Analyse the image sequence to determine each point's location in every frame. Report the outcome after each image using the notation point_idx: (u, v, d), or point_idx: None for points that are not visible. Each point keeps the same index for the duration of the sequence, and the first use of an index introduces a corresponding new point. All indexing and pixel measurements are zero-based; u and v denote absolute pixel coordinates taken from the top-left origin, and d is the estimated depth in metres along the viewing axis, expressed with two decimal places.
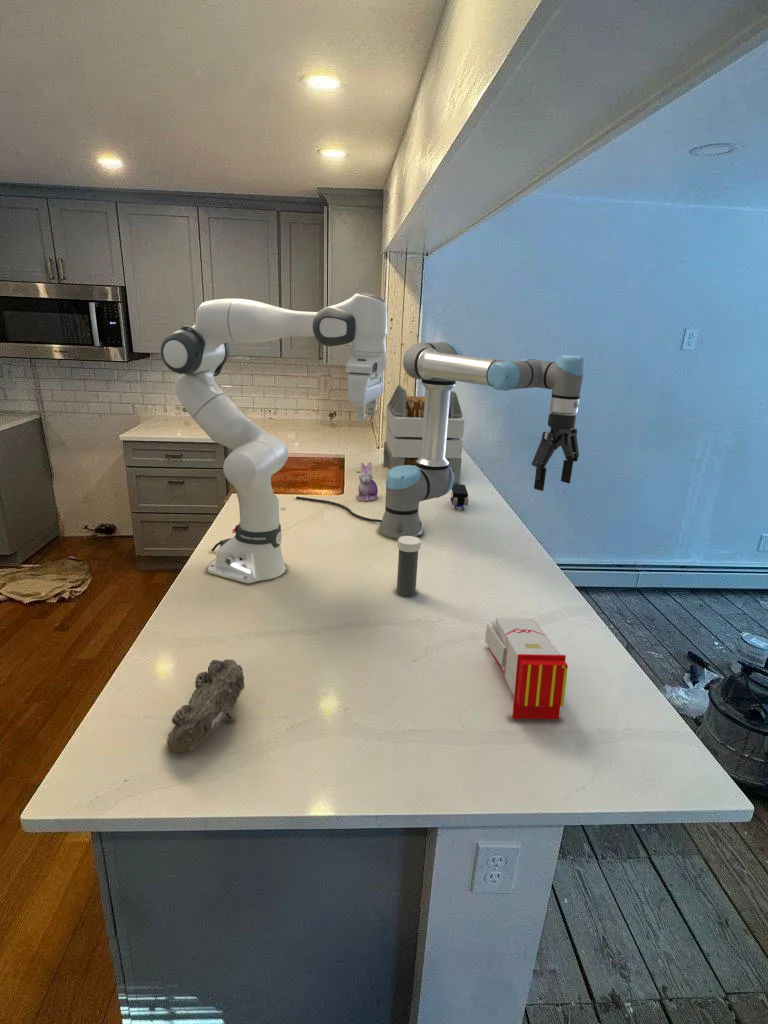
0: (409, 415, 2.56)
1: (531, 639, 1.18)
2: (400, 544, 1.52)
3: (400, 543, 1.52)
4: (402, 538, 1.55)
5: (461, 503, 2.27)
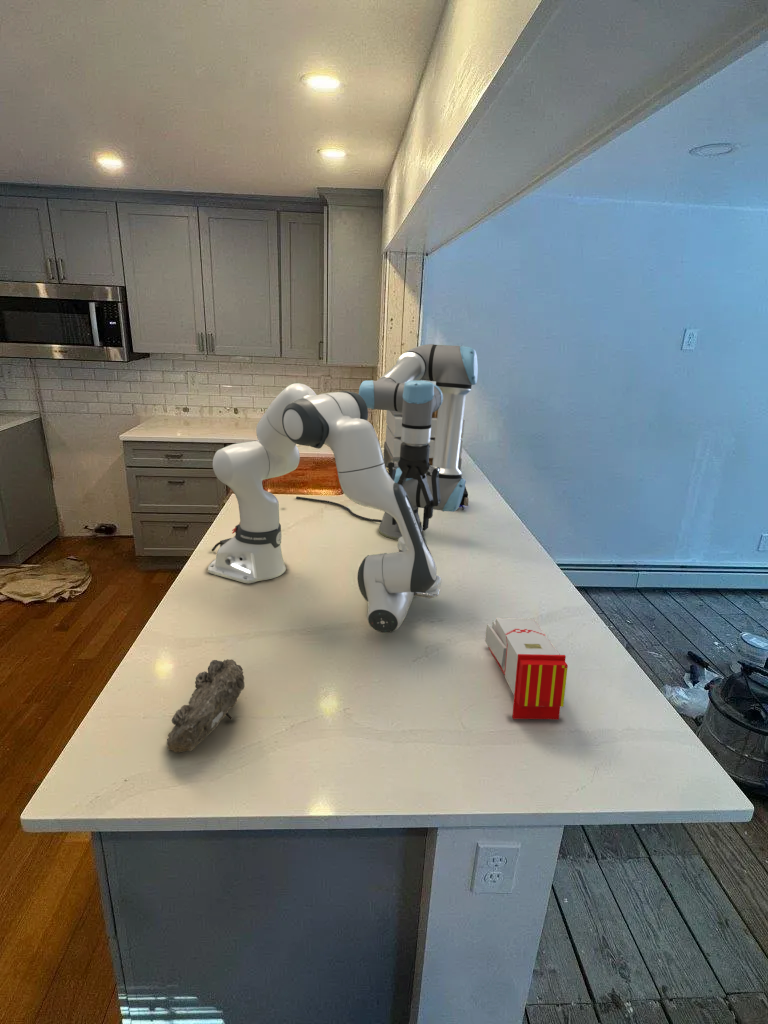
0: None
1: (531, 639, 1.18)
2: (400, 544, 1.52)
3: (400, 543, 1.52)
4: (402, 538, 1.55)
5: (461, 503, 2.27)
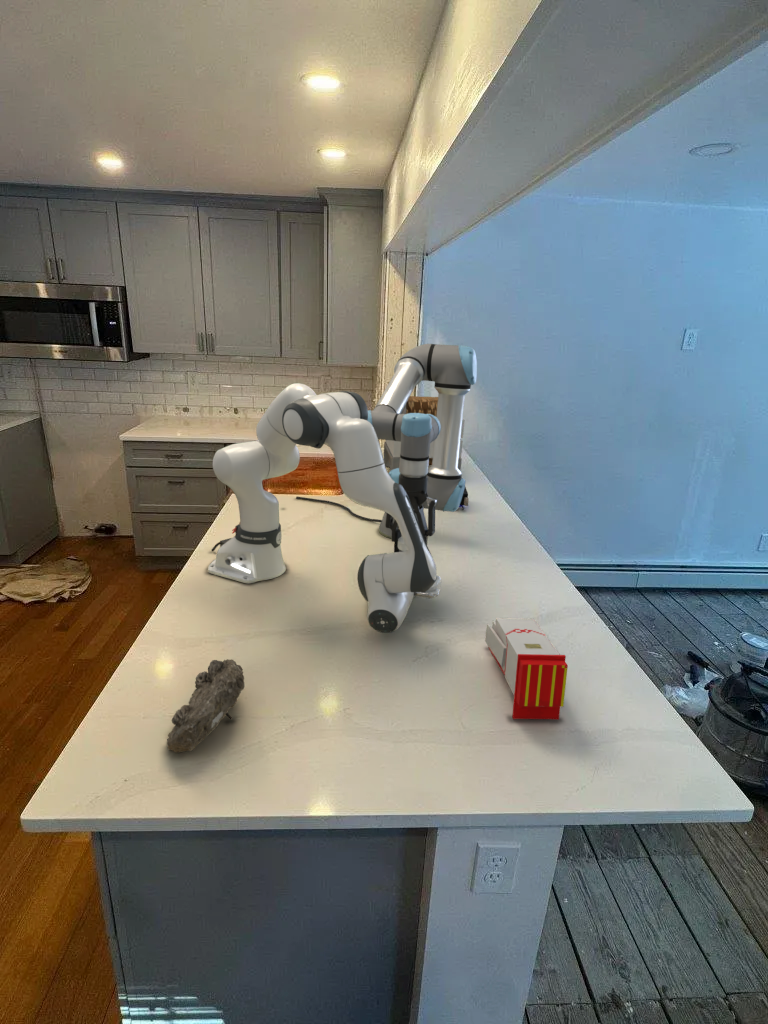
0: None
1: (531, 639, 1.18)
2: (400, 544, 1.52)
3: (400, 543, 1.52)
4: (402, 538, 1.55)
5: (461, 503, 2.27)
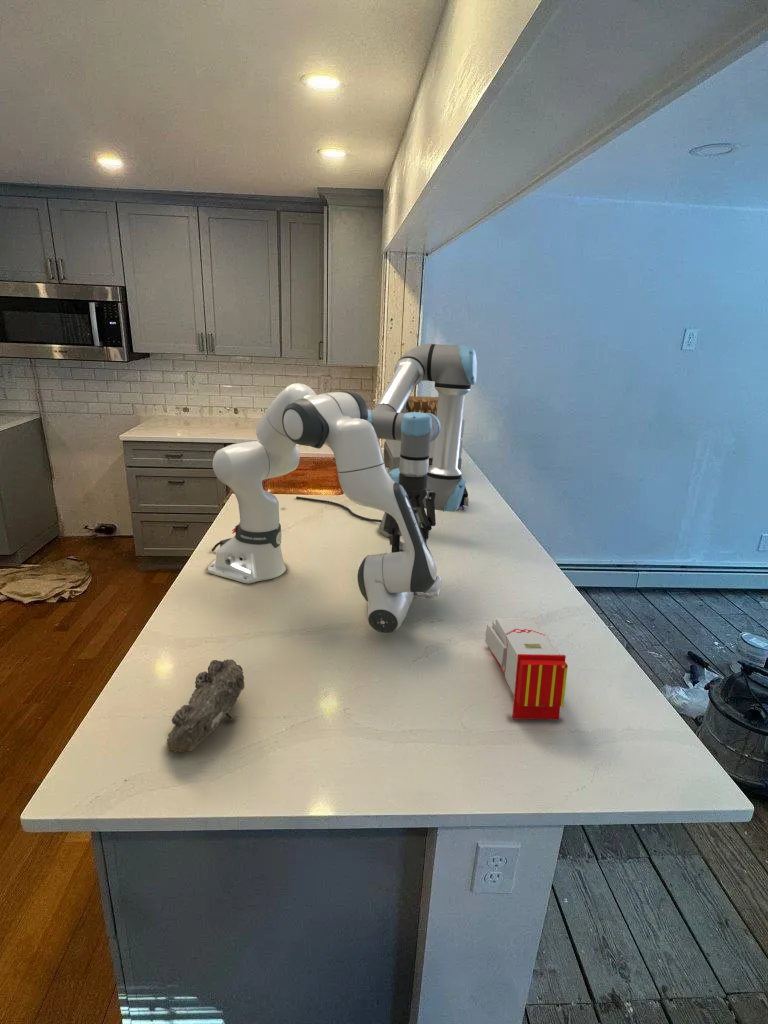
0: None
1: (531, 639, 1.18)
2: None
3: None
4: None
5: (461, 503, 2.27)
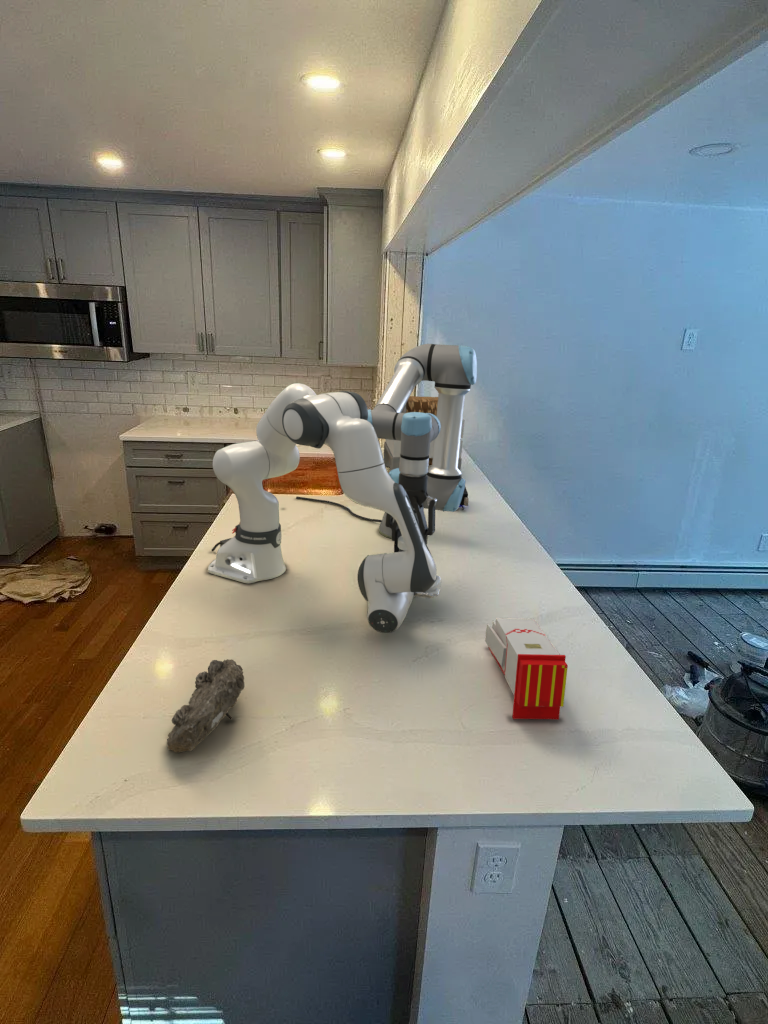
0: None
1: (531, 639, 1.18)
2: None
3: None
4: None
5: (461, 503, 2.27)
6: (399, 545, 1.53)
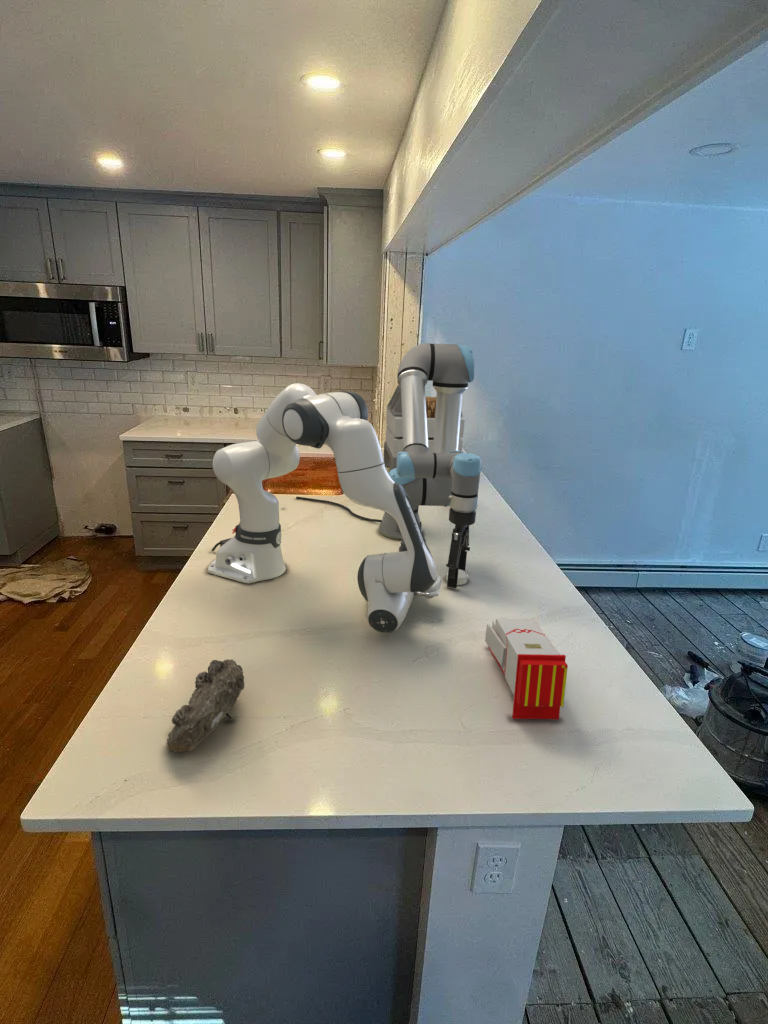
0: None
1: (531, 639, 1.18)
2: None
3: None
4: (463, 574, 1.66)
5: None
6: (463, 581, 1.65)
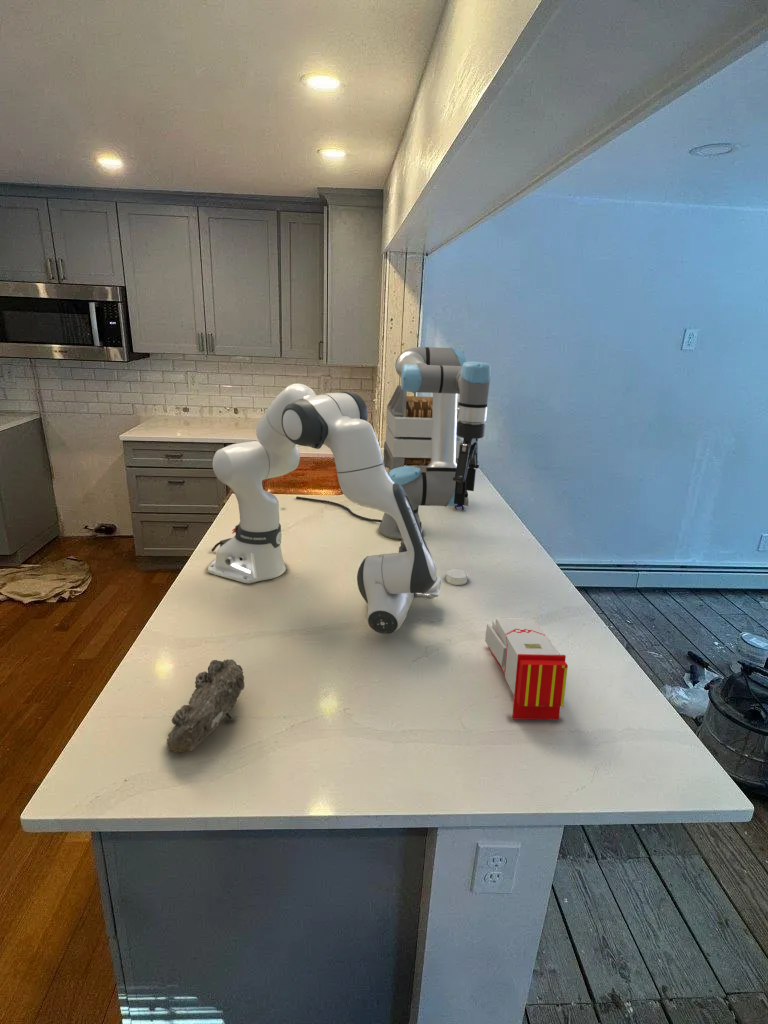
0: (409, 415, 2.56)
1: (531, 639, 1.18)
2: None
3: None
4: (463, 574, 1.66)
5: None
6: (463, 581, 1.65)
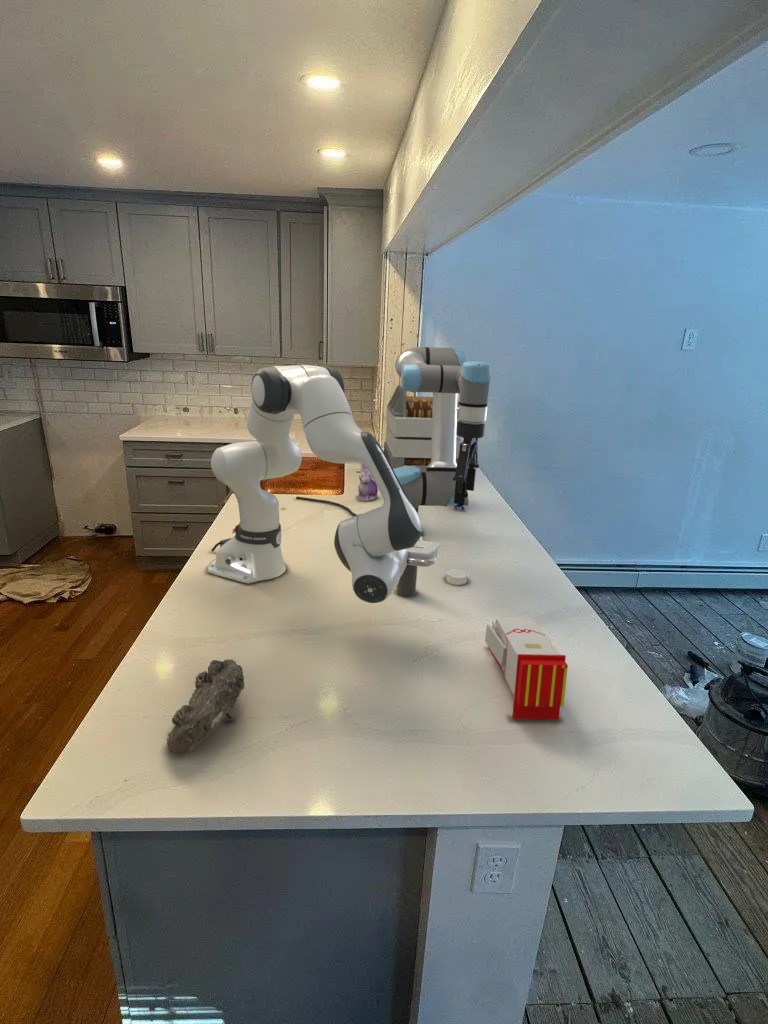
0: (409, 415, 2.56)
1: (531, 639, 1.18)
2: None
3: None
4: (463, 574, 1.66)
5: None
6: (463, 581, 1.65)
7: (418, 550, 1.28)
